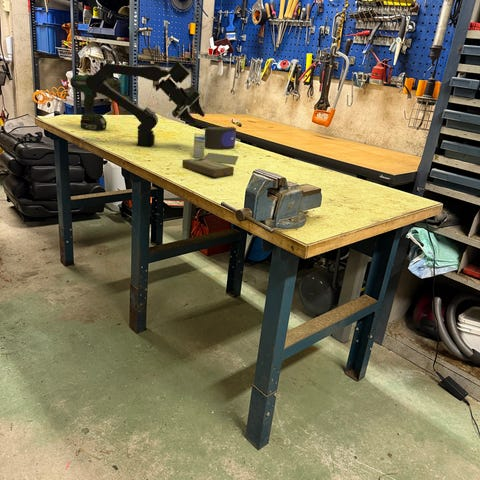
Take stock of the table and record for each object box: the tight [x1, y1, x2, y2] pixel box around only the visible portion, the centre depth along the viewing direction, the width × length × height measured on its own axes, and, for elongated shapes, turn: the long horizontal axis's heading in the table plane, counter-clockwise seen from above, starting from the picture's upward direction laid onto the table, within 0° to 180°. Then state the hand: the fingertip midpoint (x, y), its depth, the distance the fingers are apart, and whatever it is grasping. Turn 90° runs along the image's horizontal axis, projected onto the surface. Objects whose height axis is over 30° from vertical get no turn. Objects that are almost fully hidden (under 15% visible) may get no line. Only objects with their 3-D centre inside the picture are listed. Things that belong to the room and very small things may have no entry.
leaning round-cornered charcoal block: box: [204, 126, 237, 150], centre depth 194 cm, size 16×5×9 cm, turn 124°
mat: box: [204, 152, 239, 165], centre depth 178 cm, size 13×14×1 cm
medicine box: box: [192, 132, 205, 159], centre depth 176 cm, size 8×4×9 cm, turn 5°
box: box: [181, 157, 235, 178], centre depth 157 cm, size 11×17×3 cm, turn 46°
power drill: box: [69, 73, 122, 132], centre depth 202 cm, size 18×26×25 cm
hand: (199, 119), depth 184 cm, fingers open, 9 cm apart
